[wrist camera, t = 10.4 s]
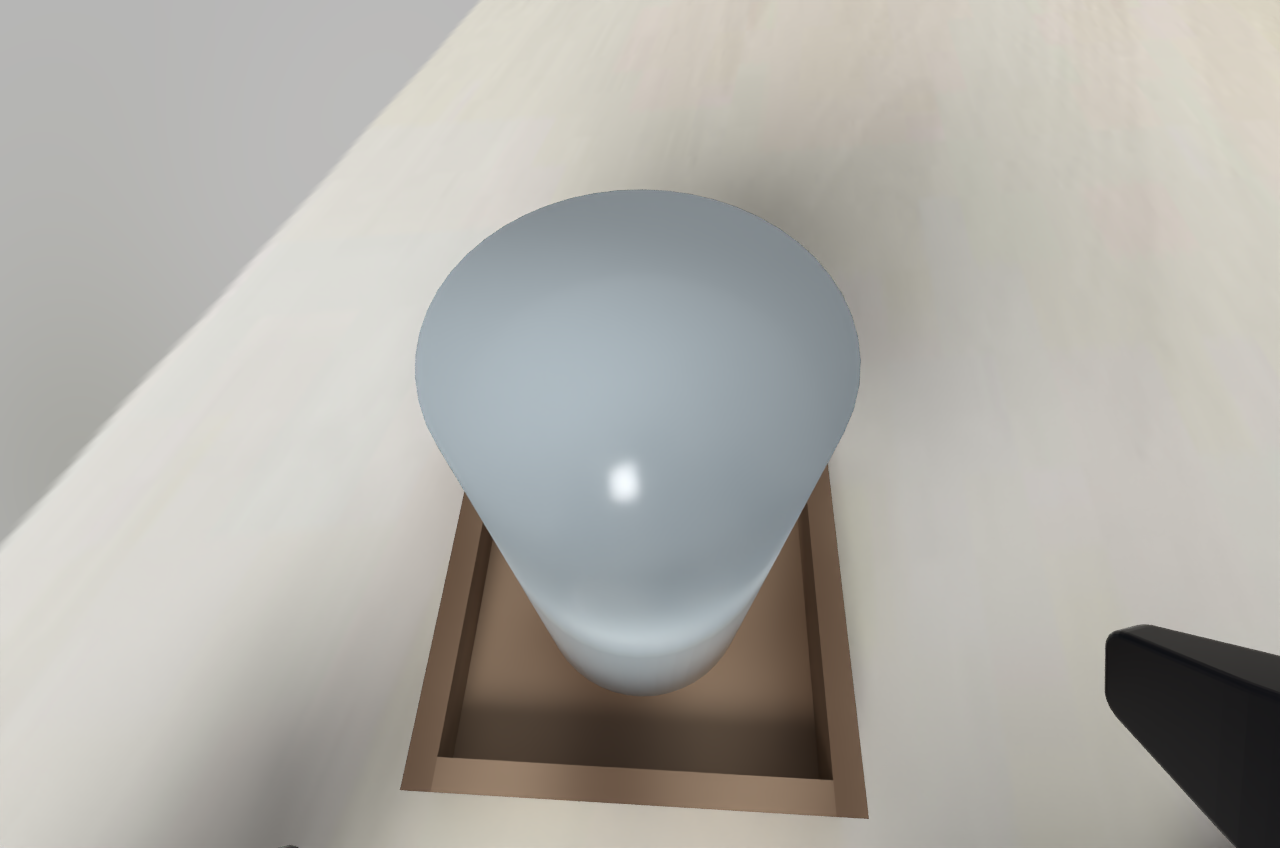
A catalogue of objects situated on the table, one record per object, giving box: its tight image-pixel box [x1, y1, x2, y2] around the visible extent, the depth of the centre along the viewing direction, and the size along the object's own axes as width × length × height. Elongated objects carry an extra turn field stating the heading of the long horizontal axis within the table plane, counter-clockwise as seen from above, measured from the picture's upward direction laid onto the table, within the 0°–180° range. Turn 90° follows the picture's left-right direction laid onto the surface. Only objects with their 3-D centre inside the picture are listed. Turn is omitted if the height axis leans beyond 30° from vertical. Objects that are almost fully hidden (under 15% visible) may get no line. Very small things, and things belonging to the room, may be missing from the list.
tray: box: [400, 463, 869, 819], centre depth 20 cm, size 12×12×2 cm
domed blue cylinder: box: [415, 190, 861, 696], centre depth 15 cm, size 6×6×13 cm
